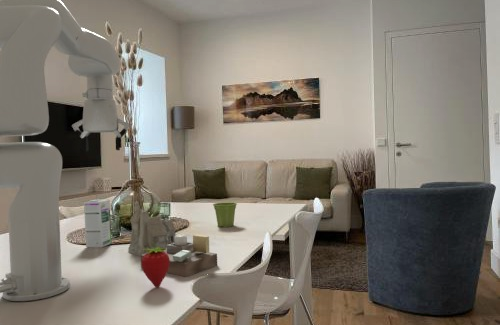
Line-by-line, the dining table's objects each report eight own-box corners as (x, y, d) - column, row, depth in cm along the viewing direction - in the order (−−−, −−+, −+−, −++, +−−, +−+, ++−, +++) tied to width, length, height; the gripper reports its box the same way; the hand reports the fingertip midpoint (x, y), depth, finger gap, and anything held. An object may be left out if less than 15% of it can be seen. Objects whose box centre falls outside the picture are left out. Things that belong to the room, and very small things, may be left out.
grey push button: (180, 248, 104) (180, 237, 104) (172, 246, 106) (171, 236, 106) (189, 245, 107) (189, 235, 107) (181, 244, 109) (180, 234, 109)
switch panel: (186, 276, 94) (185, 256, 94) (141, 266, 103) (140, 248, 103) (217, 265, 103) (216, 246, 103) (173, 257, 112) (172, 239, 112)
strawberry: (139, 294, 83) (137, 245, 83) (144, 282, 91) (143, 237, 90) (169, 292, 84) (167, 243, 84) (171, 280, 91) (170, 236, 91)
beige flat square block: (206, 253, 101) (205, 237, 101) (193, 251, 104) (192, 235, 104) (209, 252, 102) (208, 236, 102) (196, 250, 105) (196, 234, 105)
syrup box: (102, 247, 126) (100, 201, 126) (85, 247, 128) (83, 201, 127) (112, 243, 132) (110, 198, 132) (95, 243, 133) (94, 199, 133)
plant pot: (210, 225, 161) (209, 203, 160) (232, 222, 165) (231, 201, 164) (218, 229, 152) (217, 205, 152) (241, 226, 156) (240, 203, 156)
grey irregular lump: (139, 258, 111) (140, 203, 112) (121, 249, 125) (122, 200, 126) (191, 253, 120) (192, 202, 121) (169, 245, 134) (170, 199, 134)
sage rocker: (181, 261, 95) (180, 256, 95) (173, 260, 97) (172, 255, 96) (191, 255, 98) (190, 250, 98) (184, 254, 99) (183, 249, 99)
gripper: (67, 94, 124) (69, 151, 124) (126, 94, 126) (128, 149, 127) (74, 98, 131) (76, 151, 132) (130, 97, 134) (132, 150, 134)
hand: (102, 150), depth 129 cm, fingers open, 9 cm apart
